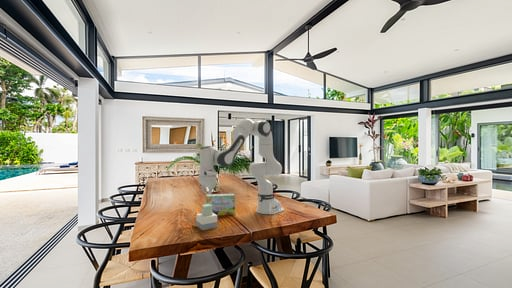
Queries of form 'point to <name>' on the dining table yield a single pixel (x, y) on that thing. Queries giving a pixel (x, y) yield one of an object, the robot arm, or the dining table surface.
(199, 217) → the cream slab
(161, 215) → the dining table surface
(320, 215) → the dining table surface
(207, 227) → the grey slab
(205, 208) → the sage block
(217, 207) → the snack box
